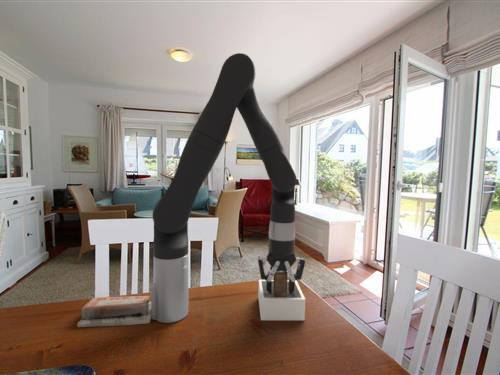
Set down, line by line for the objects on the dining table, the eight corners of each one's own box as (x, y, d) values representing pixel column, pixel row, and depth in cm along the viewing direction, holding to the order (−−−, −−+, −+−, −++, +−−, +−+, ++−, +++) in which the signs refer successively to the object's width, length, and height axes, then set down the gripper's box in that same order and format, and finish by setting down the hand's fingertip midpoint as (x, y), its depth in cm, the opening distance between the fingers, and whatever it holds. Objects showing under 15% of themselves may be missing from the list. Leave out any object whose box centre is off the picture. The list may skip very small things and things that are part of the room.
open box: (260, 320, 71) (261, 299, 70) (258, 298, 83) (258, 279, 82) (304, 320, 71) (305, 299, 71) (295, 298, 83) (296, 280, 83)
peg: (273, 312, 75) (274, 275, 74) (272, 304, 79) (273, 269, 78) (287, 312, 75) (288, 275, 74) (285, 304, 79) (286, 269, 78)
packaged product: (75, 311, 66) (93, 292, 76) (76, 329, 66) (94, 308, 76) (149, 307, 68) (157, 289, 78) (150, 325, 69) (158, 305, 78)
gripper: (257, 239, 71) (256, 298, 73) (309, 240, 72) (307, 299, 73) (256, 232, 79) (255, 286, 80) (303, 233, 79) (301, 286, 81)
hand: (280, 292), depth 77 cm, fingers open, 5 cm apart
